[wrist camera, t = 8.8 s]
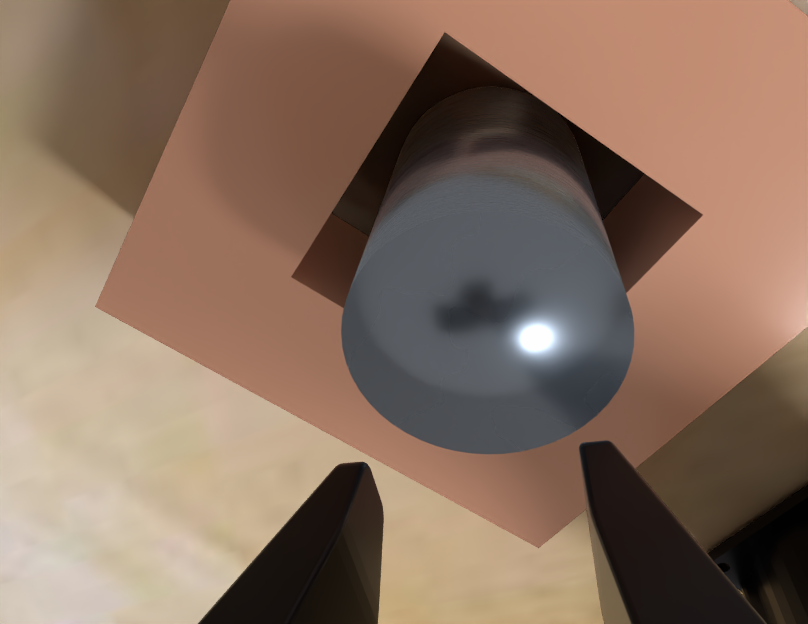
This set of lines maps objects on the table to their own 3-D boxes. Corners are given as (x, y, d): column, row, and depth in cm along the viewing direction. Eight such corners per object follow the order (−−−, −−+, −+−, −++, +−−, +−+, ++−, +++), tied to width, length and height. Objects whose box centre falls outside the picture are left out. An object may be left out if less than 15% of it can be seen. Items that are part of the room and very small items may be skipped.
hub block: (532, 452, 23) (538, 548, 20) (161, 238, 21) (94, 306, 17) (893, 113, 16) (996, 170, 13) (406, -279, 14) (377, -335, 10)
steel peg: (589, 249, 19) (641, 442, 12) (417, 273, 20) (378, 463, 13) (573, 68, 17) (627, 186, 10) (378, 106, 18) (306, 237, 11)
